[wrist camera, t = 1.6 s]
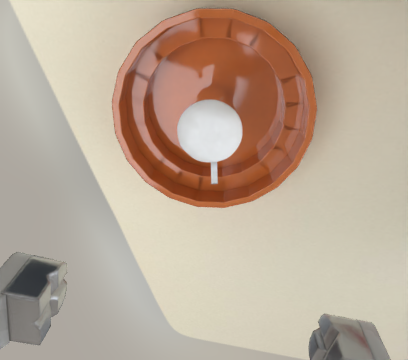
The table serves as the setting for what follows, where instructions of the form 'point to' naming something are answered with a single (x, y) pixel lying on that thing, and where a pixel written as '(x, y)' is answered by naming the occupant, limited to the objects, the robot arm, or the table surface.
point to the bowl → (234, 85)
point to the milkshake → (210, 128)
